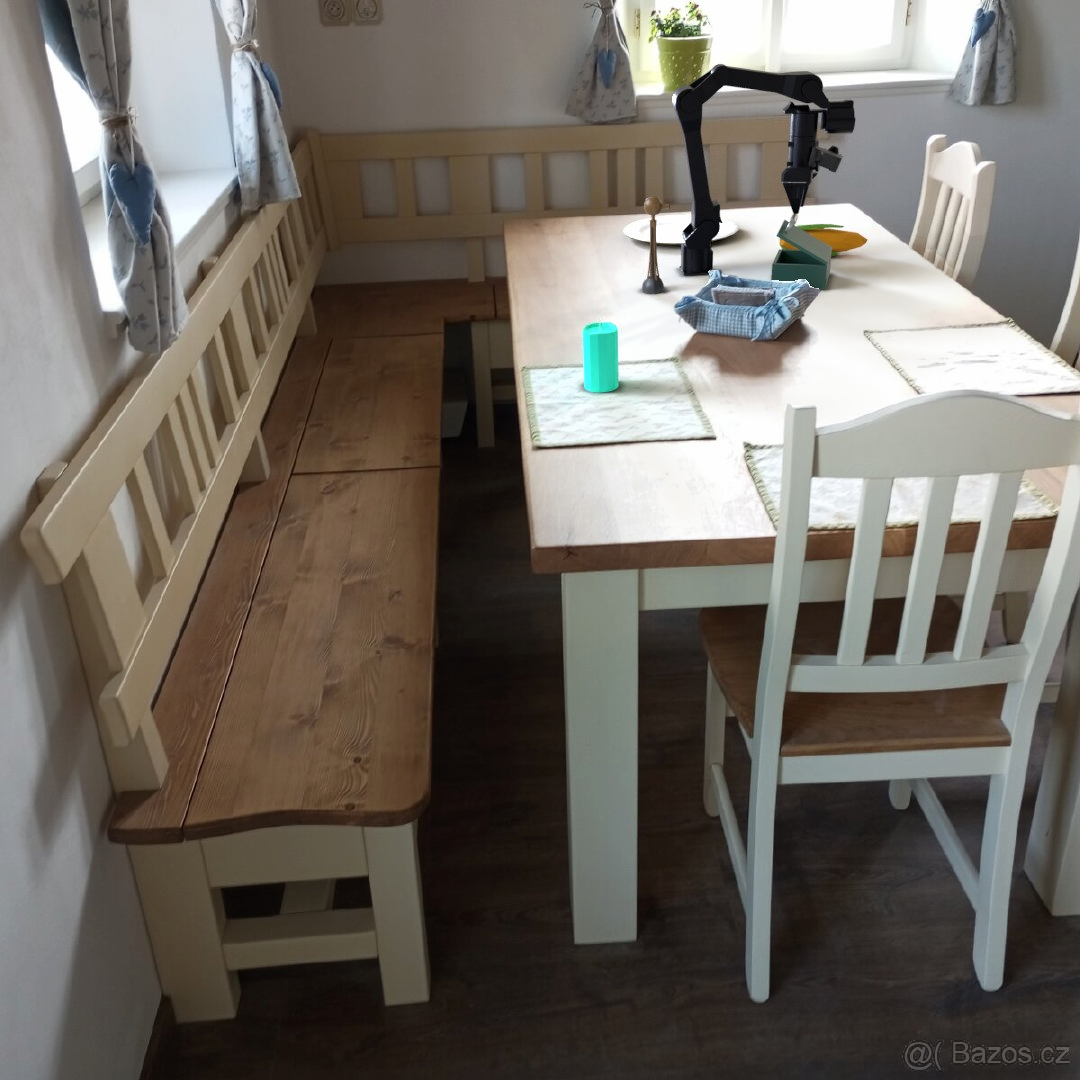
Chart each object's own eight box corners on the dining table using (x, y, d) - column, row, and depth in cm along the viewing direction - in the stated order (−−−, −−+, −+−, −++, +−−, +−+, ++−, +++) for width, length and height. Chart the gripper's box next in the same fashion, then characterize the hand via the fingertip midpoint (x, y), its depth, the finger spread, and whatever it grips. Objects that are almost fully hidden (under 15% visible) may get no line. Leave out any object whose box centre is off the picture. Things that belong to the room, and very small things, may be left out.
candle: (597, 377, 193) (596, 311, 187) (625, 384, 190) (624, 317, 184) (577, 388, 189) (574, 321, 183) (605, 395, 186) (603, 326, 180)
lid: (776, 236, 230) (786, 219, 227) (782, 222, 240) (792, 206, 238) (826, 265, 229) (836, 249, 227) (830, 250, 240) (840, 234, 237)
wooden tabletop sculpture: (670, 287, 239) (671, 194, 229) (666, 294, 235) (667, 199, 225) (644, 287, 240) (643, 194, 231) (639, 293, 237) (639, 198, 227)
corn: (779, 219, 256) (866, 217, 254) (777, 251, 260) (863, 249, 258) (781, 229, 250) (871, 227, 248) (779, 261, 254) (867, 260, 252)
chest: (770, 288, 235) (772, 264, 233) (777, 272, 245) (778, 249, 243) (825, 290, 232) (826, 265, 229) (829, 274, 242) (831, 250, 240)
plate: (756, 227, 282) (756, 219, 282) (709, 254, 261) (709, 246, 260) (655, 218, 297) (655, 211, 296) (603, 243, 275) (602, 236, 275)
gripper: (838, 140, 224) (831, 218, 231) (845, 130, 240) (839, 203, 247) (783, 140, 228) (778, 217, 235) (794, 130, 243) (789, 202, 250)
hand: (798, 210), depth 241 cm, fingers open, 9 cm apart
